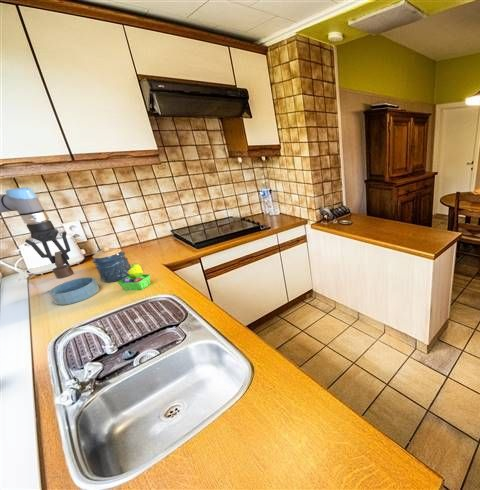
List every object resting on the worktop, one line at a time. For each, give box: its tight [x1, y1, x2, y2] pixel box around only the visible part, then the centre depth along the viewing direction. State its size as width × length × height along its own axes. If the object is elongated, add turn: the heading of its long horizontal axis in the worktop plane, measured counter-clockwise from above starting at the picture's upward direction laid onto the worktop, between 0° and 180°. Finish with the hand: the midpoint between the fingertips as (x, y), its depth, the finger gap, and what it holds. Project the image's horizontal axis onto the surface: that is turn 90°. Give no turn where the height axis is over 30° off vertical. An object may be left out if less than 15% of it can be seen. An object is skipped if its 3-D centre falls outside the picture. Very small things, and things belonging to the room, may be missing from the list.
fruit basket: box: [116, 263, 151, 291], centre depth 130 cm, size 11×9×11 cm
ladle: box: [51, 250, 75, 280], centre depth 127 cm, size 24×6×6 cm, turn 48°
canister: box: [91, 246, 132, 283], centre depth 140 cm, size 13×13×18 cm
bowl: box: [48, 276, 100, 306], centre depth 126 cm, size 15×15×6 cm
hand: (64, 267), depth 130 cm, fingers closed on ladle, 2 cm apart
